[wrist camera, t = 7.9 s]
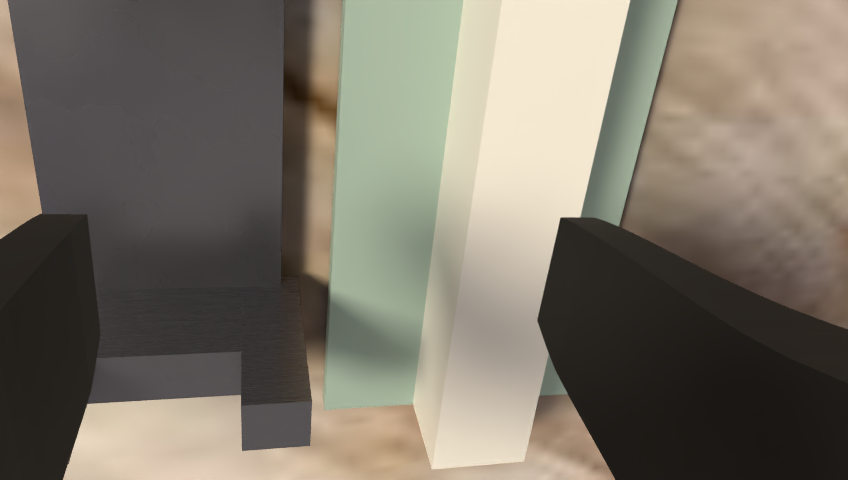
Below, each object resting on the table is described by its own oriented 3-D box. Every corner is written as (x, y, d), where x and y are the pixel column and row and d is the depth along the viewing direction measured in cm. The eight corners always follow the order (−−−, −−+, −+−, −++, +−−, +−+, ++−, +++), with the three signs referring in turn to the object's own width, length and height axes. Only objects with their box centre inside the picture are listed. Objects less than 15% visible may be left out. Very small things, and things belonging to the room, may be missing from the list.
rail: (496, 397, 26) (523, 461, 23) (412, 403, 25) (431, 469, 23) (632, -298, 16) (703, -320, 14) (503, -321, 16) (553, -347, 13)
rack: (294, 321, 23) (309, 463, 18) (53, 330, 22) (-6, 489, 17) (312, -395, 15) (347, -505, 10) (-82, -468, 13) (-286, -646, 8)
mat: (569, 382, 27) (575, 393, 27) (322, 397, 25) (324, 409, 25) (735, -274, 18) (749, -276, 17) (359, -338, 15) (362, -343, 15)
